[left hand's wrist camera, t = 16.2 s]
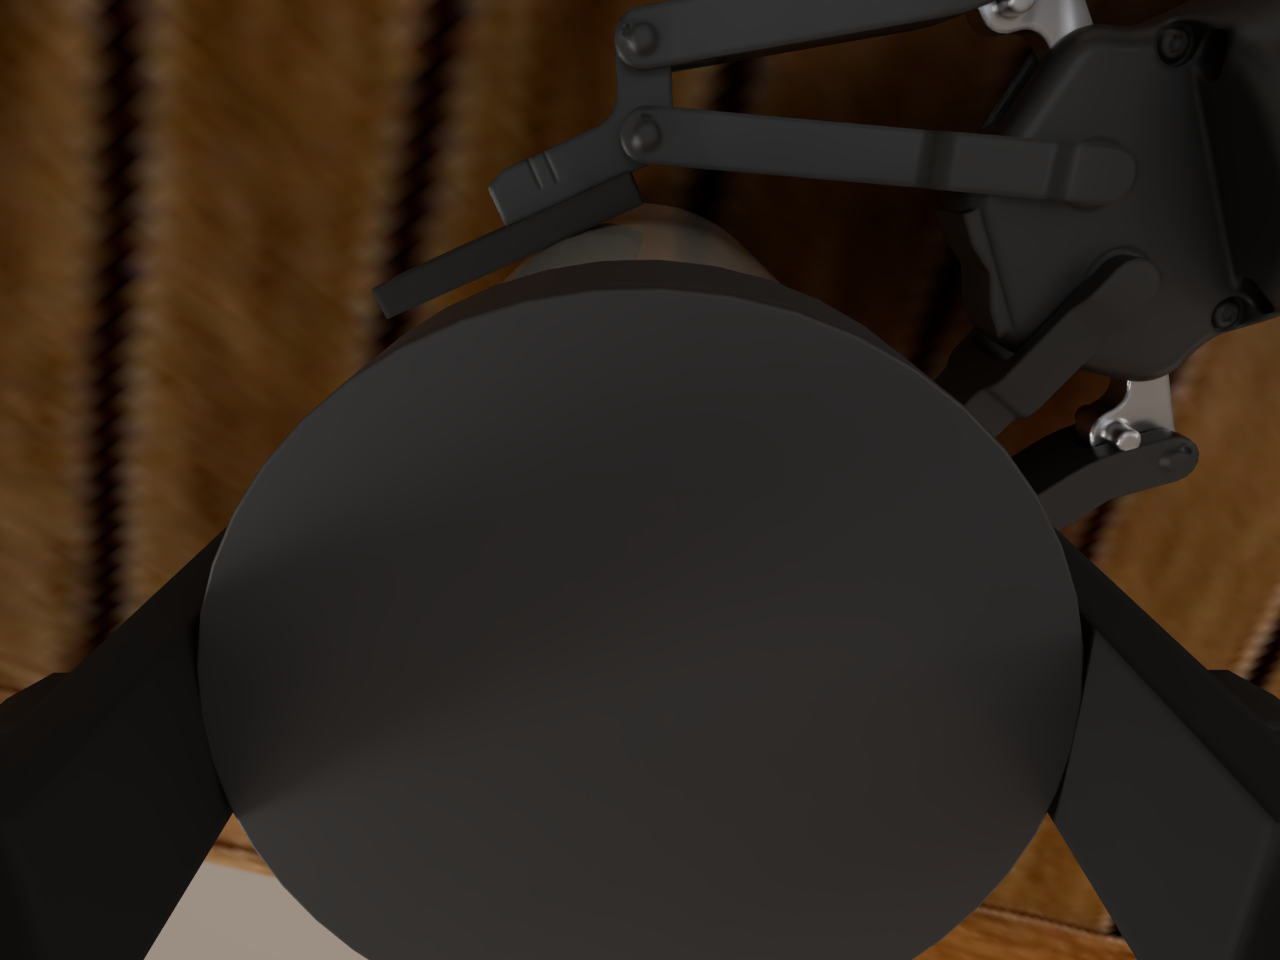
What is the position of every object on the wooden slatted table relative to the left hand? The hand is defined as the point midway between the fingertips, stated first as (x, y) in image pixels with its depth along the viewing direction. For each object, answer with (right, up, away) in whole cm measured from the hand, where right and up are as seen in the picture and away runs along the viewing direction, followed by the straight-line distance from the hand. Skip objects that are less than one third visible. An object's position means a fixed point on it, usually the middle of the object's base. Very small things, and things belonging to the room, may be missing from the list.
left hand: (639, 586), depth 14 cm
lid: (0, -1, -3) cm, 3 cm away
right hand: (-4, +2, +10) cm, 11 cm away
